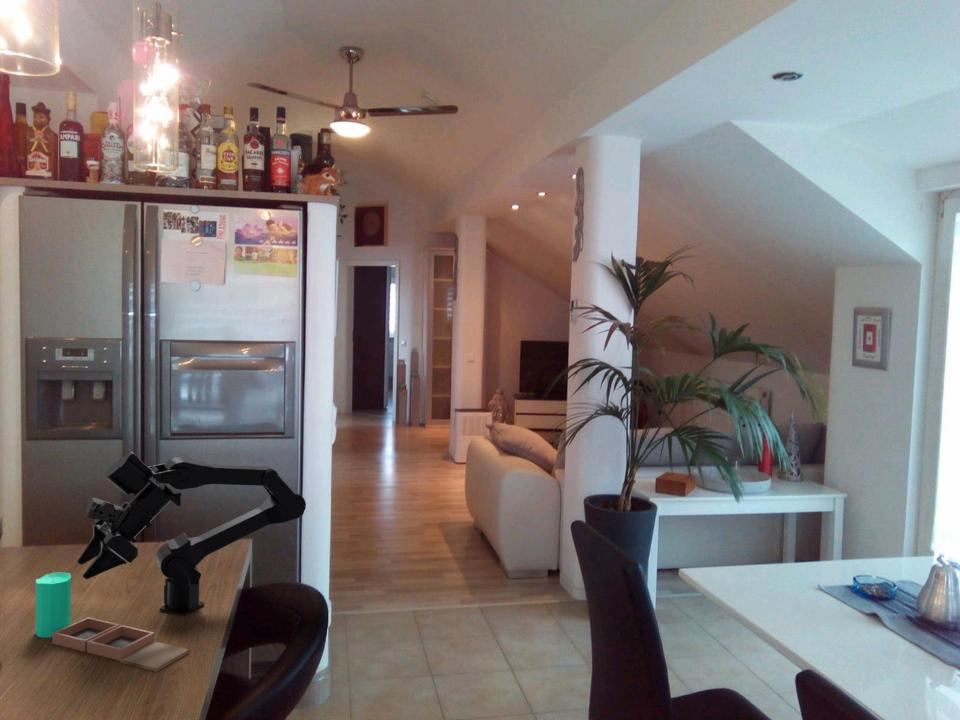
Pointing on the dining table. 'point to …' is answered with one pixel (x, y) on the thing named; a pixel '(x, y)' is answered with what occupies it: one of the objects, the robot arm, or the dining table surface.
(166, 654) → the pad
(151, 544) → the dining table surface
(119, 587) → the dining table surface
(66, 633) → the tray
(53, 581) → the candle
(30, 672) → the dining table surface
